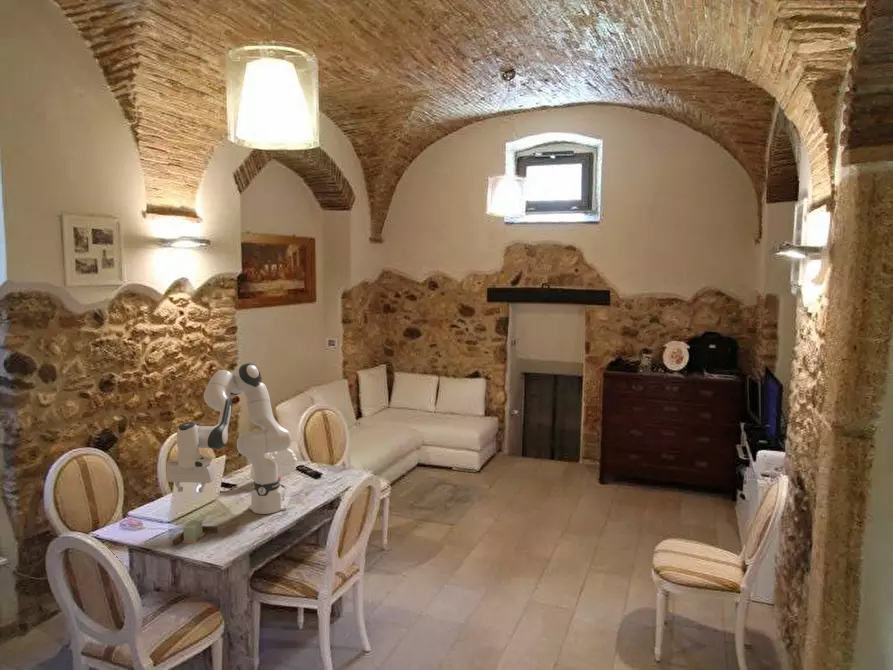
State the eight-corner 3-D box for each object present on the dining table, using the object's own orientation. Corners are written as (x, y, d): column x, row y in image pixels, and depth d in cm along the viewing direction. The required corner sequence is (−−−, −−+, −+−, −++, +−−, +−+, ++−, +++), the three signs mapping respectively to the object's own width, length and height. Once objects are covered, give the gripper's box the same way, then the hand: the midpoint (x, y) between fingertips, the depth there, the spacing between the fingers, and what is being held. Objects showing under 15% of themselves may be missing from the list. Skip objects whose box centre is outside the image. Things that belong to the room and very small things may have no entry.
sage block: (184, 541, 278) (183, 527, 278) (193, 533, 286) (192, 520, 286) (193, 541, 278) (193, 528, 277) (202, 533, 286) (202, 520, 285)
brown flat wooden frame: (190, 530, 290) (190, 525, 290) (217, 531, 289) (217, 526, 288) (172, 545, 275) (172, 539, 275) (201, 546, 274) (201, 540, 273)
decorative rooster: (245, 486, 346) (243, 441, 344) (261, 477, 361) (259, 433, 359) (286, 490, 339) (284, 444, 336) (301, 481, 354) (299, 436, 351)
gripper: (162, 462, 276) (164, 493, 277) (208, 463, 274) (209, 494, 276) (169, 457, 282) (171, 488, 284) (214, 458, 280) (216, 489, 282)
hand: (190, 491), depth 280 cm, fingers open, 8 cm apart
